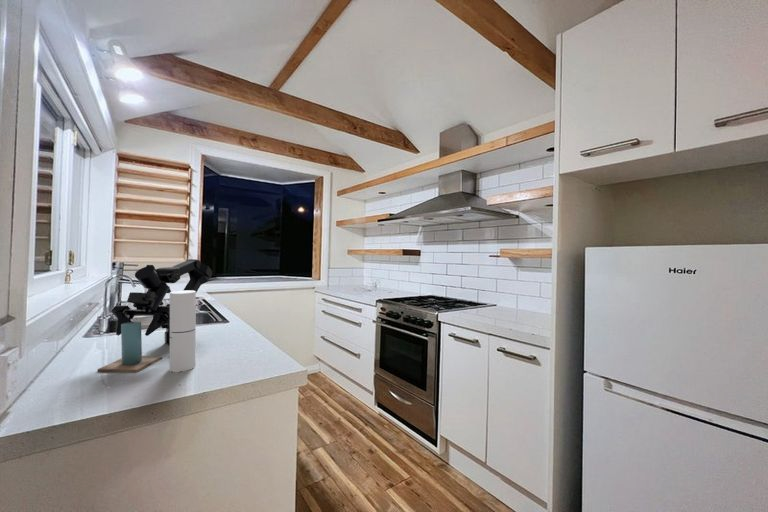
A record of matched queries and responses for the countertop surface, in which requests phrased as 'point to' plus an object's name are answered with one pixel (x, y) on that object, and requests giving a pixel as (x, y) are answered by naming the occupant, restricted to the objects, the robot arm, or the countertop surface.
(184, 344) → the cylindrical container
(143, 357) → the walnut board
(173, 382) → the countertop surface
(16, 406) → the countertop surface
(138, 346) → the cylinder
